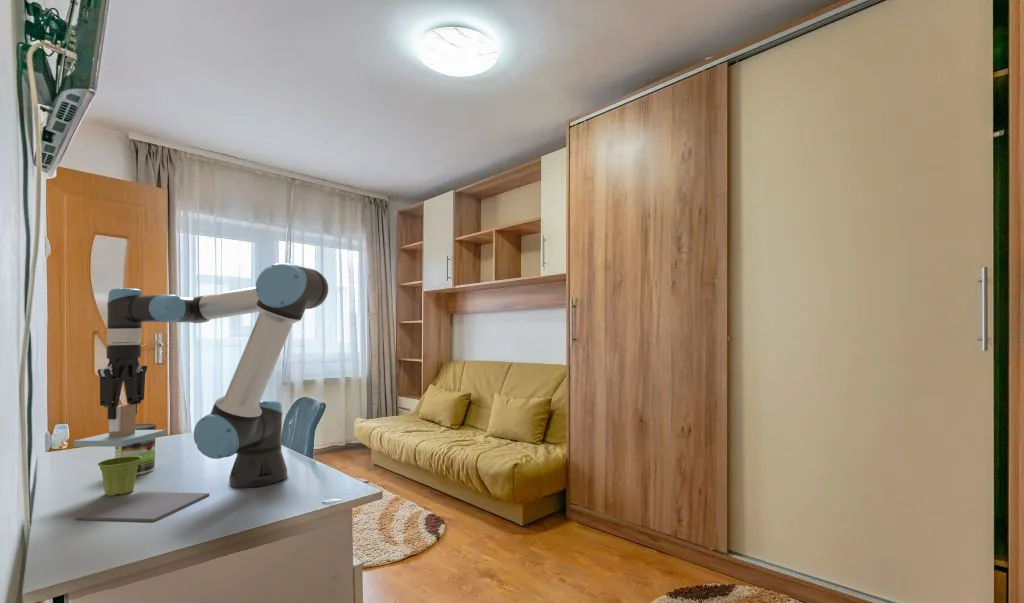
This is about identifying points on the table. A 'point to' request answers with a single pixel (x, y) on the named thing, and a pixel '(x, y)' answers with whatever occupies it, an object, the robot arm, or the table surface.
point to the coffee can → (140, 450)
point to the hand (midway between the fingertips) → (122, 429)
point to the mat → (143, 506)
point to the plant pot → (119, 474)
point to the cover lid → (121, 432)
